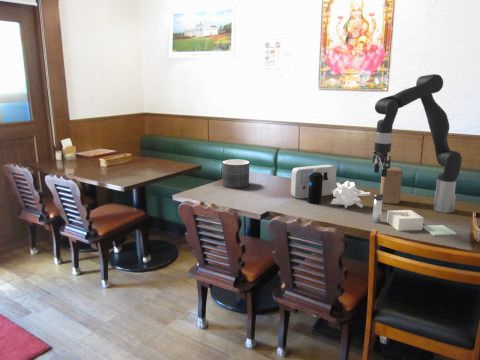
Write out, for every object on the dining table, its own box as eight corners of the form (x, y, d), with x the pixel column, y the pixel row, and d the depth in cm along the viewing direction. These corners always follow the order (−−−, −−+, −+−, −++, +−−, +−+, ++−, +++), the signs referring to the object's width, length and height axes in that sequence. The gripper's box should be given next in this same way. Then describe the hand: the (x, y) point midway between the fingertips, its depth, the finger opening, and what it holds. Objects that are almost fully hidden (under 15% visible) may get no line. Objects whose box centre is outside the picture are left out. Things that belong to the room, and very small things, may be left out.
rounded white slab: (296, 200, 237) (298, 170, 233) (290, 196, 244) (291, 167, 239) (337, 195, 248) (339, 166, 243) (329, 192, 255) (331, 164, 250)
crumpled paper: (340, 190, 212) (339, 168, 221) (326, 207, 225) (326, 187, 234) (375, 199, 214) (372, 177, 224) (359, 216, 228) (357, 195, 237)
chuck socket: (409, 221, 203) (410, 209, 202) (422, 229, 192) (423, 218, 190) (386, 221, 202) (387, 210, 200) (398, 230, 190) (399, 218, 189)
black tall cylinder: (323, 201, 235) (325, 167, 230) (319, 205, 228) (321, 170, 223) (309, 199, 238) (311, 166, 233) (305, 203, 231) (307, 169, 226)
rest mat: (442, 226, 196) (442, 225, 196) (456, 235, 186) (456, 233, 185) (421, 227, 195) (421, 225, 195) (434, 235, 184) (434, 234, 184)
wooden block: (399, 204, 230) (403, 170, 225) (381, 203, 232) (384, 169, 227) (396, 199, 239) (400, 166, 234) (378, 198, 241) (382, 166, 236)
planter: (249, 188, 261) (249, 165, 257) (221, 188, 261) (221, 164, 257) (248, 181, 278) (249, 159, 274) (223, 181, 278) (223, 159, 274)
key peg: (378, 219, 205) (381, 193, 201) (382, 222, 201) (385, 196, 197) (370, 220, 204) (372, 193, 201) (373, 223, 200) (376, 196, 197)
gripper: (397, 144, 186) (394, 178, 190) (384, 139, 200) (381, 171, 204) (382, 144, 186) (378, 178, 190) (369, 139, 199) (366, 171, 203)
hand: (380, 174), depth 197 cm, fingers open, 8 cm apart
